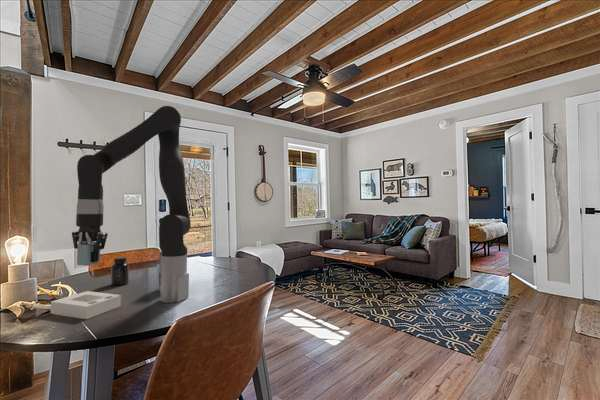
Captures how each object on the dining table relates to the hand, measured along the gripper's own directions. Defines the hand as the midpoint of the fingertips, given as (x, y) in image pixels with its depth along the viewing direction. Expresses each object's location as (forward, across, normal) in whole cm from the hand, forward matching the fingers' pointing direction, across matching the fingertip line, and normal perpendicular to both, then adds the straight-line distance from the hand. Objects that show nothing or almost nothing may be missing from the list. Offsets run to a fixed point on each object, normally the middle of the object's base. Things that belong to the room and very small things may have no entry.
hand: (88, 261), depth 95 cm
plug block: (+1, 0, 0) cm, 1 cm away
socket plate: (+17, 0, 0) cm, 17 cm away
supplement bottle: (+17, +18, -28) cm, 37 cm away
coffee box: (+17, -8, -30) cm, 35 cm away
